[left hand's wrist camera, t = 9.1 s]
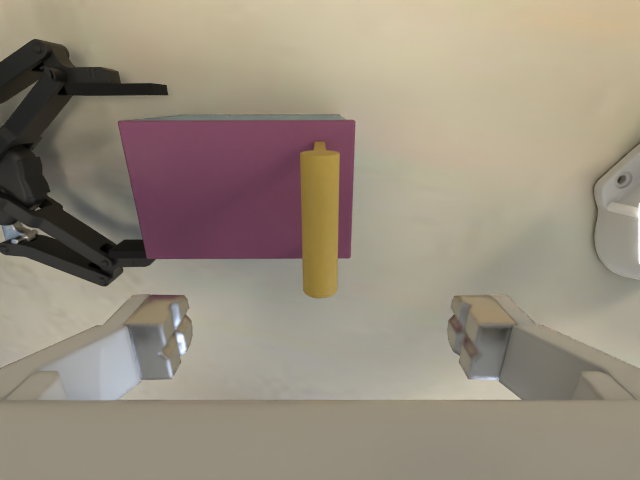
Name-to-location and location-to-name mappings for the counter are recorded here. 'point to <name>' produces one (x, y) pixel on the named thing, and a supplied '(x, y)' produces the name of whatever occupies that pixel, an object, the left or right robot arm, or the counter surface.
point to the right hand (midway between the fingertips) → (175, 175)
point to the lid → (245, 191)
